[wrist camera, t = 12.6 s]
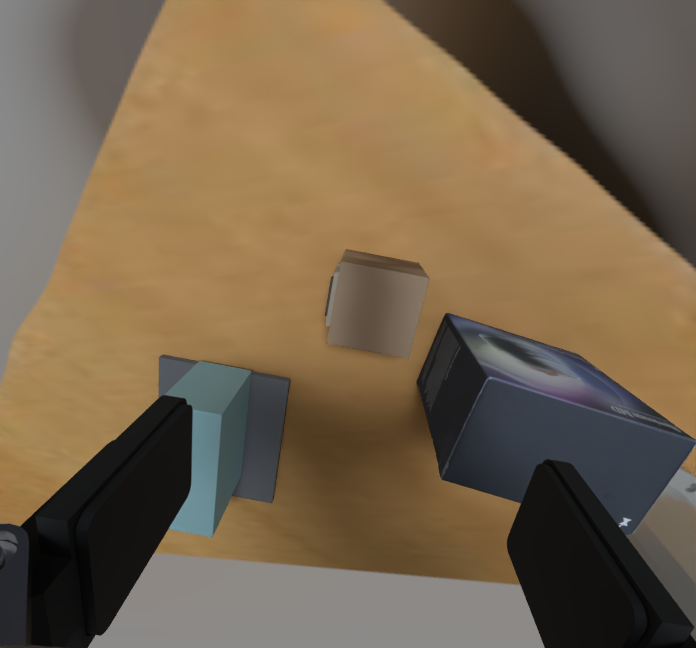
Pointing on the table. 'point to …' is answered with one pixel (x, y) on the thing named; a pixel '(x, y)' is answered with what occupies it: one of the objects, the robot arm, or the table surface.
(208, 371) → the teal rectangular block
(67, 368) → the table surface
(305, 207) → the table surface
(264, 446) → the dark gray block
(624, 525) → the small box
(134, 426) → the robot arm
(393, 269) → the wooden letter block
